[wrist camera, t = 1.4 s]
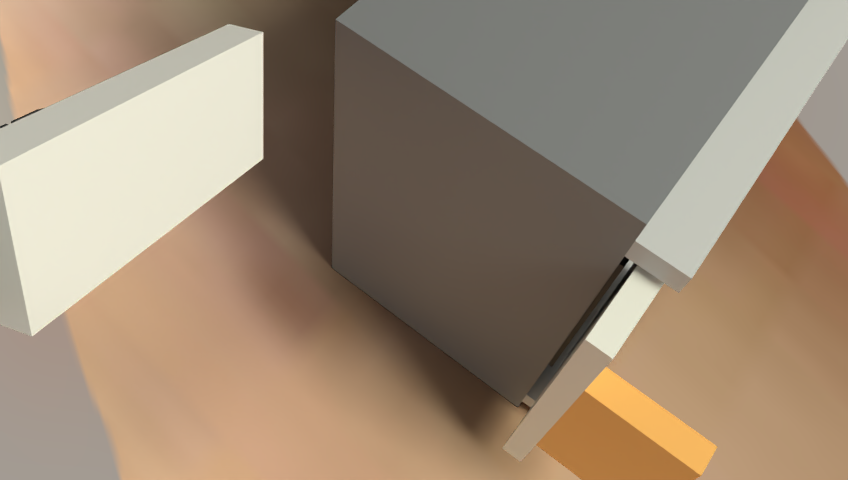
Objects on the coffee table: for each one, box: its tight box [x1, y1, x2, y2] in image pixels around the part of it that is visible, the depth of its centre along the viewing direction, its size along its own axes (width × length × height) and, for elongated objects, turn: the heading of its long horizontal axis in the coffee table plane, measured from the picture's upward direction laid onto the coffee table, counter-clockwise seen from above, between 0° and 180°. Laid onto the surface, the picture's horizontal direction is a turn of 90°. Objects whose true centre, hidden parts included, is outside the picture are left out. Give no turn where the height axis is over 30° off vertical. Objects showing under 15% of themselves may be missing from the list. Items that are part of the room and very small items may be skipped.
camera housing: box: [332, 0, 848, 407], centre depth 36 cm, size 14×20×19 cm
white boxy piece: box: [503, 263, 717, 480], centre depth 32 cm, size 6×12×13 cm, turn 143°
